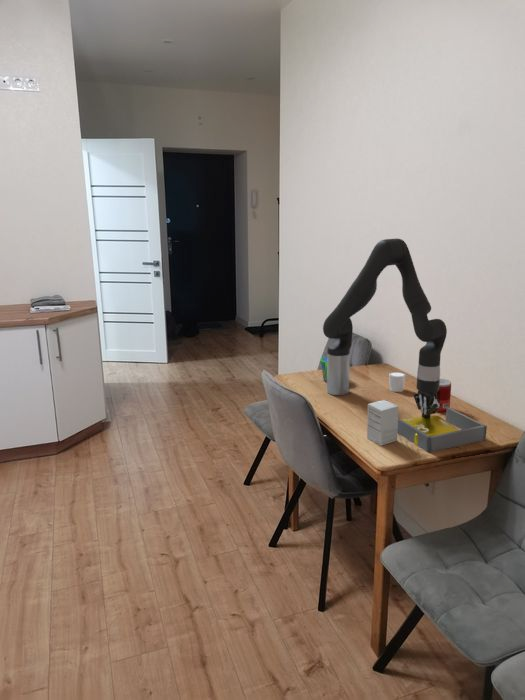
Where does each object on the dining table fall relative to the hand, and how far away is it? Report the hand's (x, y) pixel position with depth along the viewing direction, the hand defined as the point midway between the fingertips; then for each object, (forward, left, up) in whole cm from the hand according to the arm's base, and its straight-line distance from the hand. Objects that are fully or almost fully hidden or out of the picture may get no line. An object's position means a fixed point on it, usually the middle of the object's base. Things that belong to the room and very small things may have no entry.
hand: (425, 423), depth 184 cm
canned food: (-12, +16, -2) cm, 20 cm away
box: (+7, 0, -2) cm, 8 cm away
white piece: (-37, +14, -2) cm, 40 cm away
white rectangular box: (+2, -20, -2) cm, 20 cm away
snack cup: (-60, -5, -2) cm, 61 cm away
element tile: (+6, -3, -2) cm, 7 cm away
